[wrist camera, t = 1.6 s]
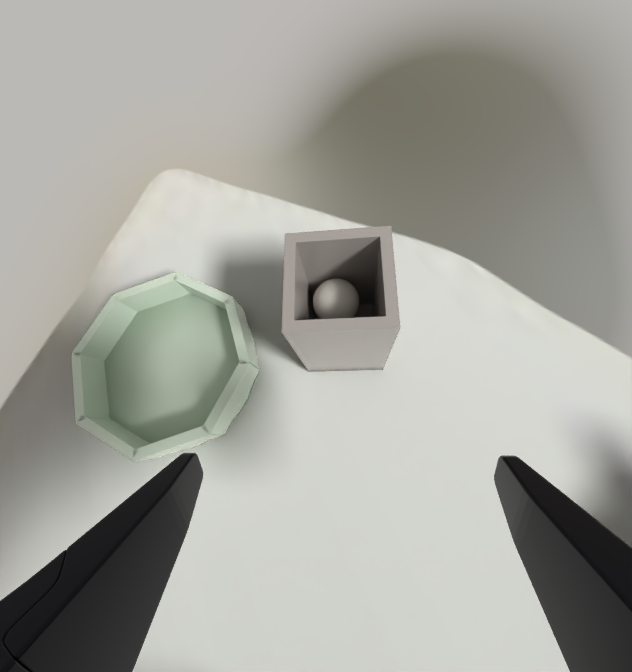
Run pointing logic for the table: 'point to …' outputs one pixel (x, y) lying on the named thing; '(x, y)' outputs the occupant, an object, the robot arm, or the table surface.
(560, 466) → the table surface
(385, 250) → the tumbler
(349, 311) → the pebble
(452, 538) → the table surface
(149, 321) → the dish
